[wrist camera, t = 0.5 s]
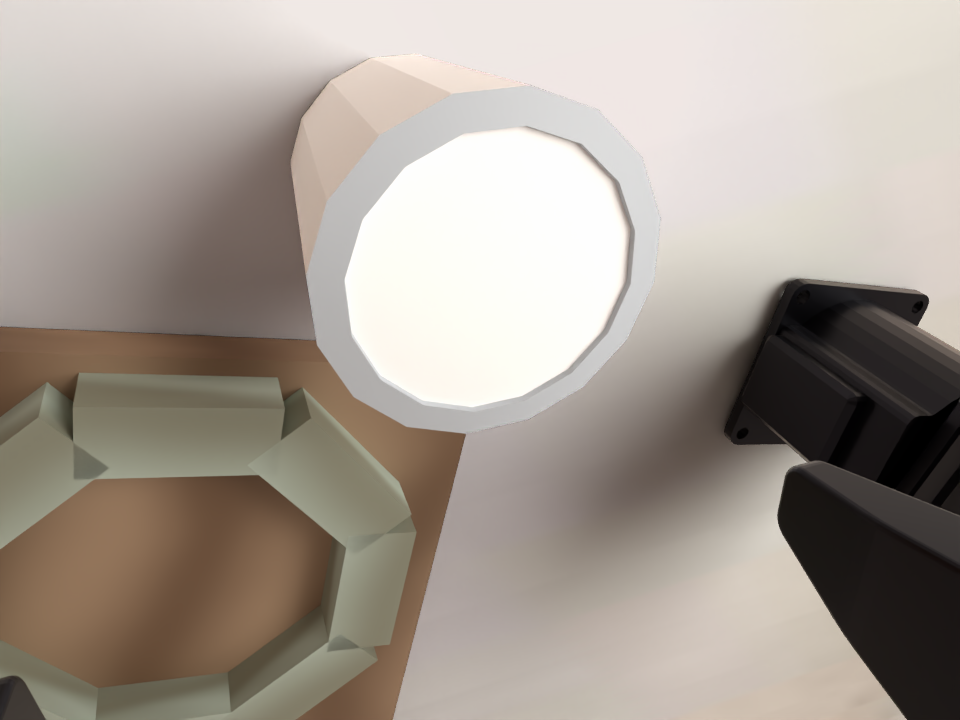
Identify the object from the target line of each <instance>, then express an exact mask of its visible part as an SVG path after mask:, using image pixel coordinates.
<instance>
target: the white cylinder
mask: <svg viewBox="0 0 960 720" xmlns="http://www.w3.org/2000/svg"><path fill="white" fill-rule="evenodd" d="M290 164H291V171H292V179H293V186H294V193H295V200H296V208H297V215H298V222H299V229H300V237H301V244H302V251H303V258H304V266H305V273H306V280H307V286H308V292H309V298H310V305H311V311H312V317H313V323H314V330H315V336H316V342H317V346H318V347H319V349H320V350H321V352H322V353H323V355H324V356H325V357H326V359H327V360H328V362H329V363H330V364H331V366H332V367H333V369H334V370H335V372H336V373H337V374H338V376H339V377H340V379H341V380H342V381H343V383H344V384H345V386H346V387H347V389H348V390H349V391H350V393H351V394H352V396H353V397H354V398H356V399H358V400H360V401H361V402H363V403H365V404H367V405H369V406H370V407H372V408H374V409H376V410H377V411H379V412H381V413H383V414H385V415H386V416H388V417H390V418H392V419H394V420H395V421H397V422H399V423H401V424H402V425H404V426H406V427H412V428H421V429H430V430H438V431H447V432H456V433H464V434H469V433H473V432H477V431H482V430H486V429H490V428H495V427H499V426H503V425H508V424H512V423H516V422H520V421H525V420H528V419H530V418H532V417H534V416H535V415H537V414H539V413H540V412H542V411H544V410H545V409H547V408H549V407H550V406H552V405H554V404H556V403H557V402H559V401H561V400H562V399H564V398H566V397H567V396H569V395H571V394H572V393H574V392H576V391H578V390H579V389H581V388H583V387H584V386H585V385H586V383H587V382H588V381H589V380H590V379H591V378H592V377H593V376H594V375H595V374H596V373H597V372H598V370H599V369H600V368H601V367H602V366H603V365H604V364H605V363H606V362H607V361H608V360H609V359H610V357H611V356H612V355H613V354H614V353H615V352H616V351H617V350H618V349H619V348H620V347H621V346H622V344H623V343H624V342H625V341H626V340H627V338H628V336H629V334H630V332H631V330H632V328H633V326H634V323H635V321H636V319H637V317H638V315H639V313H640V311H641V309H642V306H643V304H644V302H645V300H646V298H647V296H648V294H649V292H650V290H651V287H652V285H653V283H654V279H655V270H656V260H657V251H658V241H659V231H660V222H661V217H660V214H659V210H658V207H657V204H656V200H655V197H654V194H653V190H652V187H651V184H650V180H649V177H648V174H647V170H646V167H645V164H644V160H643V157H642V156H641V155H640V154H639V153H638V152H637V151H636V150H635V149H634V147H633V146H632V145H631V144H630V143H629V142H628V141H627V140H626V139H625V138H624V137H623V136H622V135H621V133H620V132H619V131H618V130H617V129H616V128H615V127H614V126H613V125H612V124H611V123H610V122H609V121H608V119H607V118H606V117H605V116H604V115H603V114H602V113H601V112H600V111H599V110H598V109H596V108H593V107H590V106H588V105H585V104H582V103H579V102H576V101H574V100H571V99H568V98H565V97H562V96H560V95H557V94H554V93H551V92H549V91H546V90H543V89H540V88H537V87H535V86H532V85H528V84H525V83H521V82H517V81H514V80H510V79H507V78H503V77H499V76H496V75H492V74H488V73H485V72H481V71H477V70H474V69H470V68H466V67H463V66H459V65H456V64H452V63H448V62H445V61H441V60H437V59H434V58H430V57H426V56H423V55H419V54H407V55H396V56H385V57H374V58H369V59H368V60H366V61H364V62H362V63H361V64H359V65H357V66H355V67H353V68H352V69H350V70H348V71H346V72H344V73H343V74H341V75H339V76H337V77H336V78H334V79H332V80H330V81H329V83H328V84H327V85H326V87H325V88H324V89H323V90H322V92H321V93H320V94H319V96H318V97H317V98H316V100H315V101H314V102H313V104H312V105H311V106H310V108H309V109H308V110H307V111H306V113H305V114H304V115H303V117H302V118H301V122H300V126H299V130H298V134H297V138H296V142H295V146H294V150H293V154H292V157H291V161H290Z"/></svg>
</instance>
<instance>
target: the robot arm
mask: <svg viewBox="0 0 960 720" xmlns="http://www.w3.org/2000/svg"><path fill="white" fill-rule="evenodd" d="M800 293H801V294H800ZM799 294H800V295H799ZM798 295H799V296H798ZM928 304H929V298H928V297H927V296H926V295H924V294H923V293H921V292H919V291H917V290H910V289H900V288H890V287H880V286H870V285H860V284H850V283H840V282H830V281H820V280H810V279H796V280H794V281H792V282H791V283H790V284H789V285H788V286H787V288H786V289H785V291H784V293H783V295H782V298H781V300H780V302H779V305H778V307H777V309H776V311H775V314H774V316H773V318H772V321H771V323H770V325H769V328H768V330H767V332H766V335H765V337H764V339H763V341H762V344H761V346H760V348H759V351H758V353H757V355H756V358H755V360H754V362H753V365H752V367H751V369H750V371H749V374H748V376H747V378H746V381H745V383H744V385H743V388H742V390H741V392H740V394H739V397H738V399H737V401H736V404H735V406H734V408H733V411H732V413H731V415H730V418H729V420H728V422H727V424H726V427H725V431H724V433H725V436H726V437H727V438H728V439H729V440H730V441H731V442H732V443H733V444H737V445H745V444H787V445H789V446H790V447H791V448H792V449H793V450H794V451H795V452H796V453H798V454H799V455H800V456H801V457H802V458H803V459H804V460H805V461H807V462H808V463H804V464H800V465H797V466H793V467H791V468H790V469H789V470H788V471H787V473H786V475H785V479H784V484H783V489H782V494H781V499H780V503H779V508H778V514H777V517H778V524H779V527H780V530H781V532H782V534H783V536H784V538H785V539H786V541H787V543H788V544H789V546H790V548H791V549H792V551H793V553H794V554H795V556H796V558H797V559H798V561H799V563H800V564H801V566H802V567H803V569H804V571H805V572H806V574H807V576H808V577H809V579H810V581H811V582H812V584H813V586H814V587H815V589H816V591H817V592H818V594H819V596H820V597H821V599H822V600H823V602H824V604H825V605H826V607H827V609H828V610H829V612H830V614H831V615H832V617H833V619H834V620H835V622H836V623H837V625H838V626H839V628H840V629H841V631H842V632H843V634H844V635H845V637H846V638H847V640H848V641H849V642H850V644H851V645H852V647H853V648H854V650H855V651H856V652H857V654H858V655H859V656H860V658H861V659H862V660H863V662H864V663H865V664H866V666H867V667H868V668H869V670H870V671H871V672H872V674H873V675H874V676H875V678H876V679H877V680H878V682H879V683H880V684H881V686H882V687H883V688H884V690H885V691H886V692H887V694H888V695H889V696H890V698H891V699H892V700H893V702H894V703H895V704H896V706H897V707H898V709H899V710H900V711H901V713H902V714H903V715H904V717H905V718H906V719H907V720H960V351H959V350H957V349H955V348H953V347H952V346H950V345H948V344H947V343H945V342H943V341H941V340H940V339H938V338H936V337H934V336H933V335H931V334H929V333H928V332H926V331H924V330H922V329H921V328H919V327H917V326H918V324H919V322H920V320H921V318H922V316H923V315H924V313H925V311H926V309H927V307H928ZM0 720H46V719H45V717H44V715H43V713H42V712H41V710H40V708H39V706H38V704H37V703H36V701H35V699H34V697H33V695H32V694H31V692H30V690H29V688H28V687H27V685H26V683H25V682H24V680H23V679H22V678H20V677H19V676H16V675H14V676H12V675H10V676H7V677H3V678H0Z"/></svg>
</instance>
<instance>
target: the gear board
mask: <svg viewBox="0 0 960 720" xmlns="http://www.w3.org/2000/svg"><path fill="white" fill-rule="evenodd" d="M465 435H466V434H464V433H456V432H447V431H438V430H430V429H421V428H412V427H406V426H404V425H402V424H401V423H399V422H397V421H395V420H394V419H392V418H390V417H388V416H386V415H385V414H383V413H381V412H379V411H377V410H376V409H374V408H372V407H370V406H369V405H367V404H365V403H363V402H361V401H360V400H358V399H356V398H354V397H353V396H352V394H351V393H350V391H349V390H348V389H347V387H346V386H345V384H344V383H343V381H342V380H341V379H340V377H339V376H338V374H337V373H336V372H335V370H334V369H333V367H332V366H331V364H330V363H329V362H328V360H327V359H326V357H325V356H324V355H323V353H322V352H321V350H320V349H319V347H318V346H317V342H316V341H313V340H290V339H267V338H244V337H221V336H197V335H174V334H151V333H128V332H105V331H82V330H59V329H36V328H13V327H0V678H3V677H7V676H10V675H12V676H14V675H16V676H19V677H20V678H22V679H23V680H24V682H25V683H26V685H27V687H28V688H29V690H30V692H31V694H32V695H33V697H34V699H35V701H36V703H37V704H38V706H39V708H40V710H41V712H42V713H43V715H44V717H45V719H46V720H393V716H394V712H395V708H396V704H397V700H398V696H399V692H400V688H401V685H402V681H403V677H404V673H405V669H406V665H407V661H408V657H409V653H410V650H411V646H412V642H413V638H414V634H415V630H416V626H417V622H418V618H419V614H420V611H421V607H422V603H423V599H424V595H425V591H426V587H427V583H428V579H429V576H430V572H431V568H432V564H433V560H434V556H435V552H436V548H437V544H438V540H439V537H440V533H441V529H442V525H443V521H444V517H445V513H446V509H447V505H448V502H449V498H450V494H451V490H452V486H453V482H454V478H455V474H456V470H457V466H458V463H459V459H460V455H461V451H462V447H463V443H464V439H465Z"/></svg>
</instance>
